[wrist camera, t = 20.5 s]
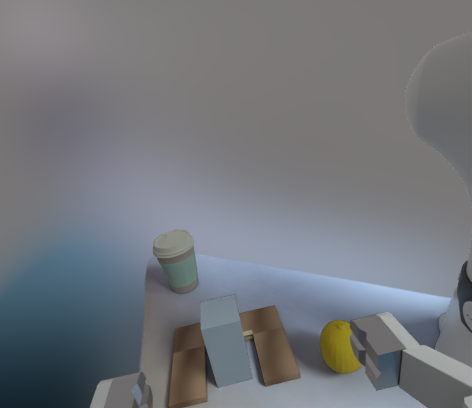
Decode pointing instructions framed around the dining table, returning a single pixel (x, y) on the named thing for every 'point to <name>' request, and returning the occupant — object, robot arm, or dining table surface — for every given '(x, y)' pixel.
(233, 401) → the dining table surface
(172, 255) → the coffee cup
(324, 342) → the lemon
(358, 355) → the robot arm
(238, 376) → the blue-grey rectangular block
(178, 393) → the wooden u-shaped frame
